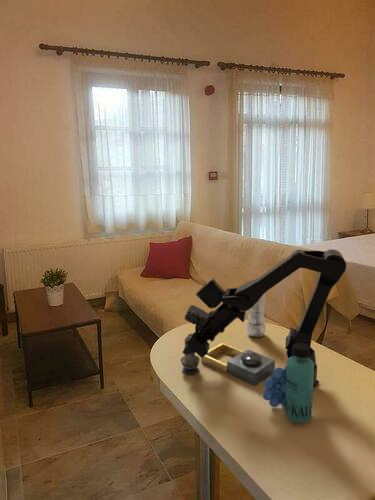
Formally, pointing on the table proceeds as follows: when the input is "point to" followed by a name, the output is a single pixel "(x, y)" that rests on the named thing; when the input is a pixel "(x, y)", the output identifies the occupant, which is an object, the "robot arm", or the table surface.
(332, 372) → the table surface
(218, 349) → the two-tone flat frame block
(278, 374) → the grapes
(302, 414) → the beverage bottle
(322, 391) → the table surface
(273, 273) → the robot arm
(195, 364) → the dark grey tall piece
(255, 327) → the plastic bottle
